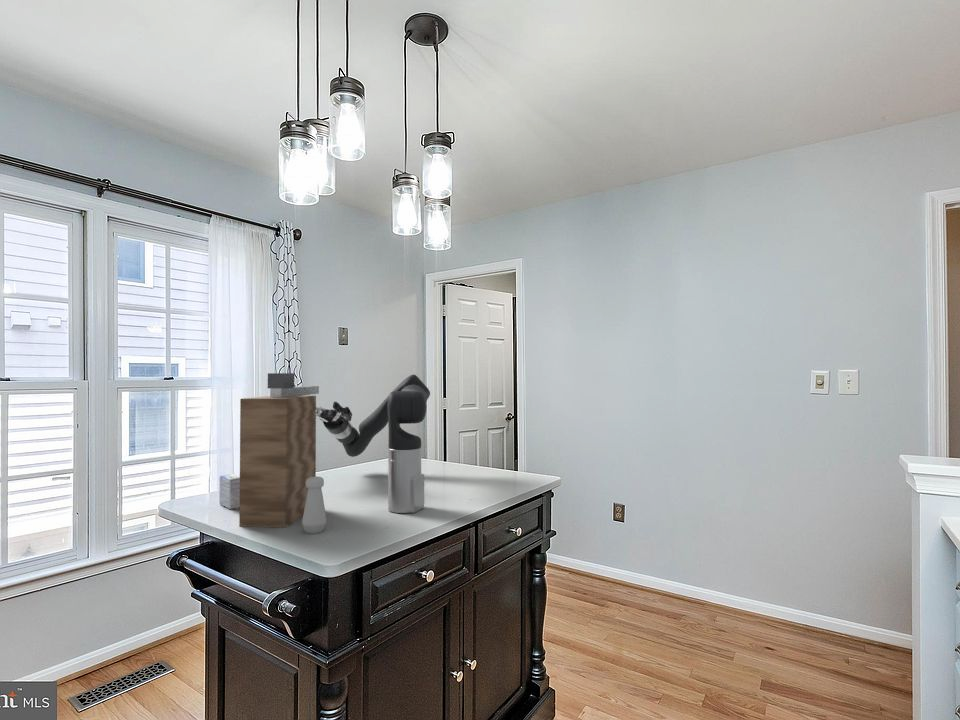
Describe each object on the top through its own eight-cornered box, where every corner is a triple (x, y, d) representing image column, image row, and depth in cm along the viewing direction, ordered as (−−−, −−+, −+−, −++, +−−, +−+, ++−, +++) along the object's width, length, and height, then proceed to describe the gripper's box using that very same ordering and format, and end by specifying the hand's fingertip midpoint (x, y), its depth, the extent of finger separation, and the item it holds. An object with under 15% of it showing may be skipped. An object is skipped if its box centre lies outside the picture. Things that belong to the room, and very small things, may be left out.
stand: (275, 507, 146) (275, 395, 147) (315, 508, 145) (315, 395, 146) (239, 526, 128) (240, 398, 129) (284, 527, 127) (285, 398, 128)
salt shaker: (312, 536, 120) (312, 480, 120) (296, 532, 123) (296, 478, 123) (331, 529, 125) (332, 476, 125) (316, 526, 128) (316, 474, 128)
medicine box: (245, 506, 147) (245, 476, 147) (229, 510, 143) (229, 479, 144) (234, 502, 152) (234, 473, 152) (218, 505, 149) (219, 475, 149)
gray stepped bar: (307, 393, 159) (307, 373, 159) (321, 393, 158) (321, 373, 158) (267, 397, 135) (267, 373, 135) (283, 397, 134) (283, 373, 135)
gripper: (320, 414, 180) (303, 393, 167) (359, 414, 179) (345, 393, 165) (316, 434, 177) (297, 414, 163) (356, 434, 175) (340, 414, 161)
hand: (321, 404), depth 164 cm, fingers open, 8 cm apart
